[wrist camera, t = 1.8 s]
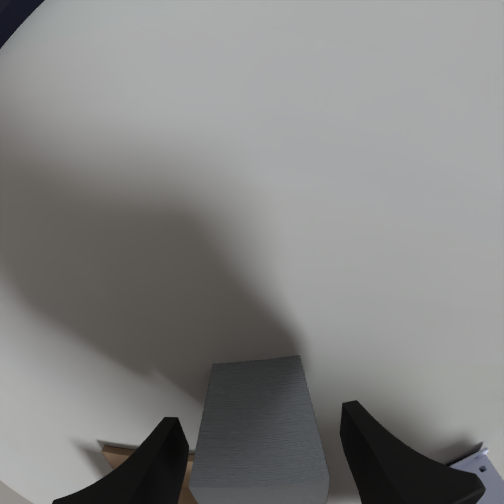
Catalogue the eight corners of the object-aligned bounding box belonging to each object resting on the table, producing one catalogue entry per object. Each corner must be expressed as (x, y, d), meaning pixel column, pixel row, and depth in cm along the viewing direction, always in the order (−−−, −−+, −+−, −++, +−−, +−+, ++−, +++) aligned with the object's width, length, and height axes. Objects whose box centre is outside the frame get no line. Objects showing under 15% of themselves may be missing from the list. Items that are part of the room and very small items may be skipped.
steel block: (299, 355, 13) (329, 478, 6) (302, 415, 14) (322, 525, 7) (213, 363, 13) (188, 487, 6) (227, 421, 14) (216, 532, 7)
